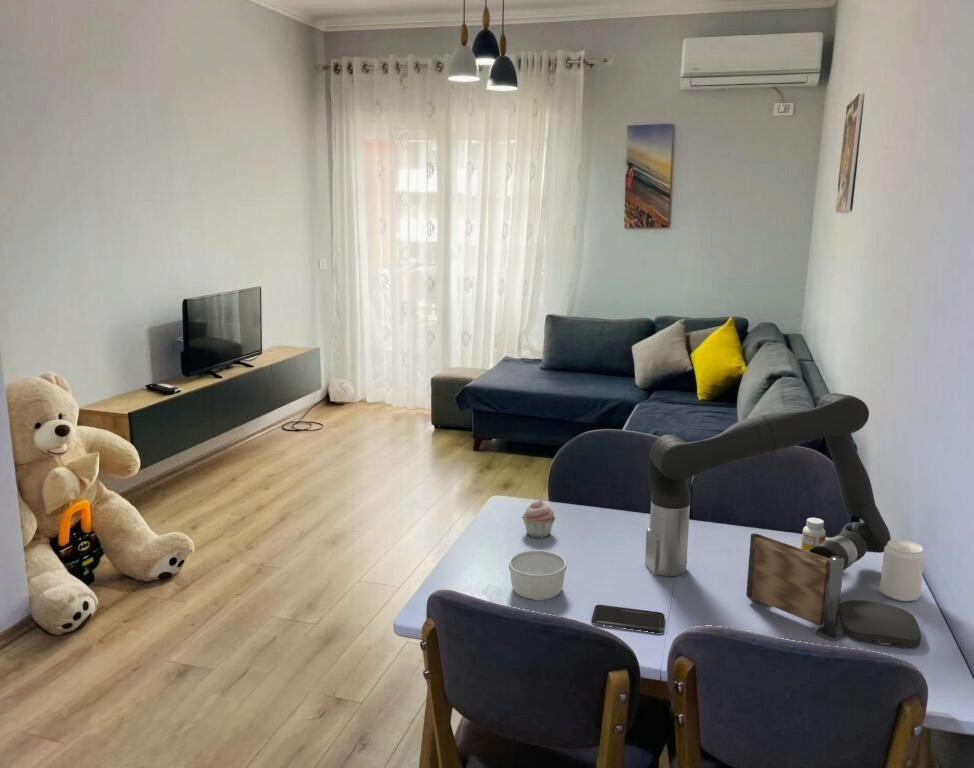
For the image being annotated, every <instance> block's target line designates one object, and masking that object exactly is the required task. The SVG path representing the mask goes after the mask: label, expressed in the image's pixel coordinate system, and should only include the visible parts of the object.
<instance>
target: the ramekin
mask: <svg viewBox="0 0 974 768" xmlns="http://www.w3.org/2000/svg"><path fill="white" fill-rule="evenodd" d="M508 569H509V572H510V581H511V587H512V589H513V590H514V592H515V593H516V594H517V595H518V596H520V597H521V596H522V598H523V597H524V599H526V598H528V599H527V600H530V599H533V600H532V601H544V600H543V599H546V600H550V599H553V598H554V596H555V597H556V596H558V595H559V594H560V593H561V591H562V589H563V586H564V581H565V574H566V570H567V562H566V560H565V558H564V557H562V556H561V555H560V554H557V553H555V552H552V551H549V550H548V551H547V550H542V549H539V550H538V549H534V550H533V549H531V550H525V551H521V552H518V553H516V554H513V555H512V556H511V557H510V559H509V561H508ZM557 594H558V595H557ZM552 597H553V598H552ZM549 598H550V599H549Z"/></svg>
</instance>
